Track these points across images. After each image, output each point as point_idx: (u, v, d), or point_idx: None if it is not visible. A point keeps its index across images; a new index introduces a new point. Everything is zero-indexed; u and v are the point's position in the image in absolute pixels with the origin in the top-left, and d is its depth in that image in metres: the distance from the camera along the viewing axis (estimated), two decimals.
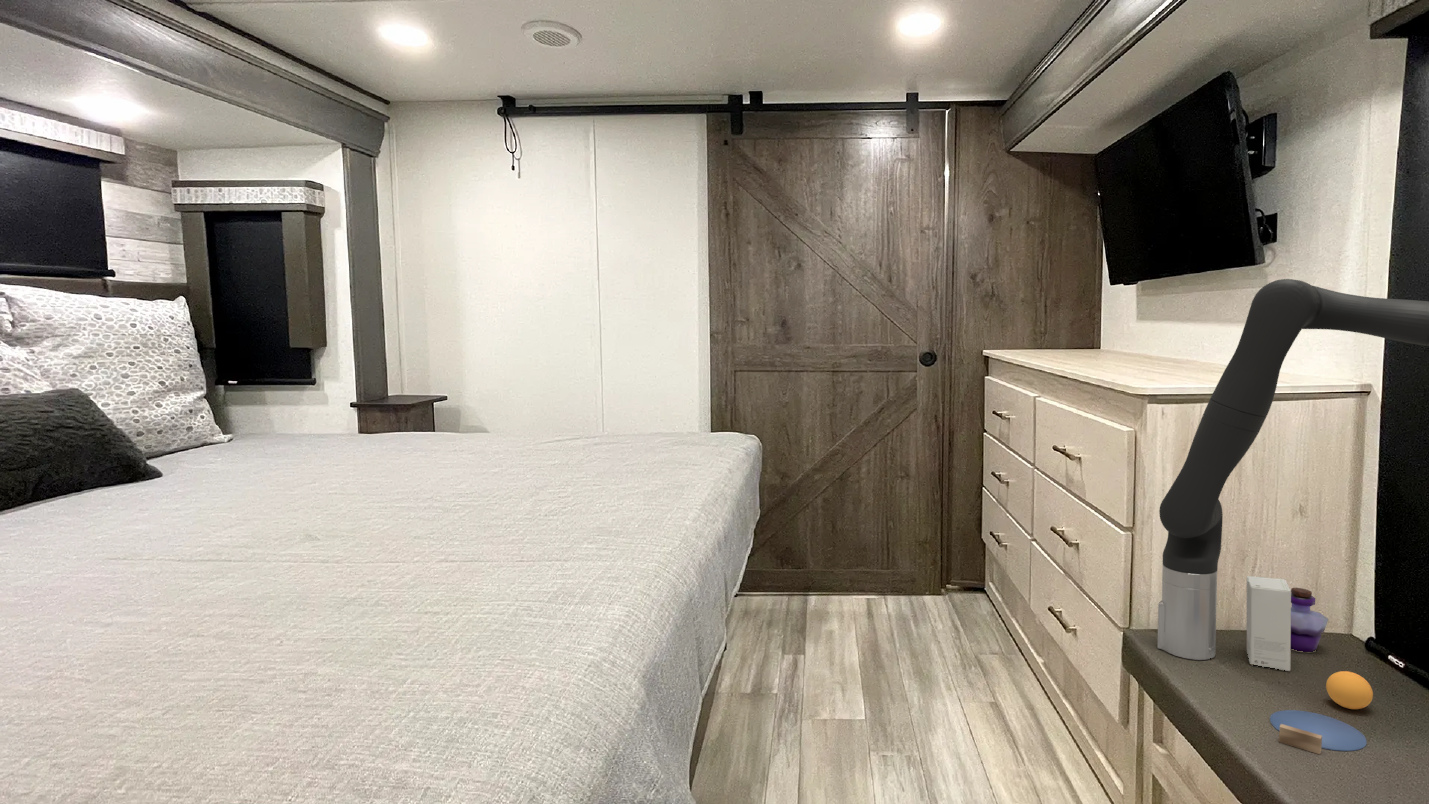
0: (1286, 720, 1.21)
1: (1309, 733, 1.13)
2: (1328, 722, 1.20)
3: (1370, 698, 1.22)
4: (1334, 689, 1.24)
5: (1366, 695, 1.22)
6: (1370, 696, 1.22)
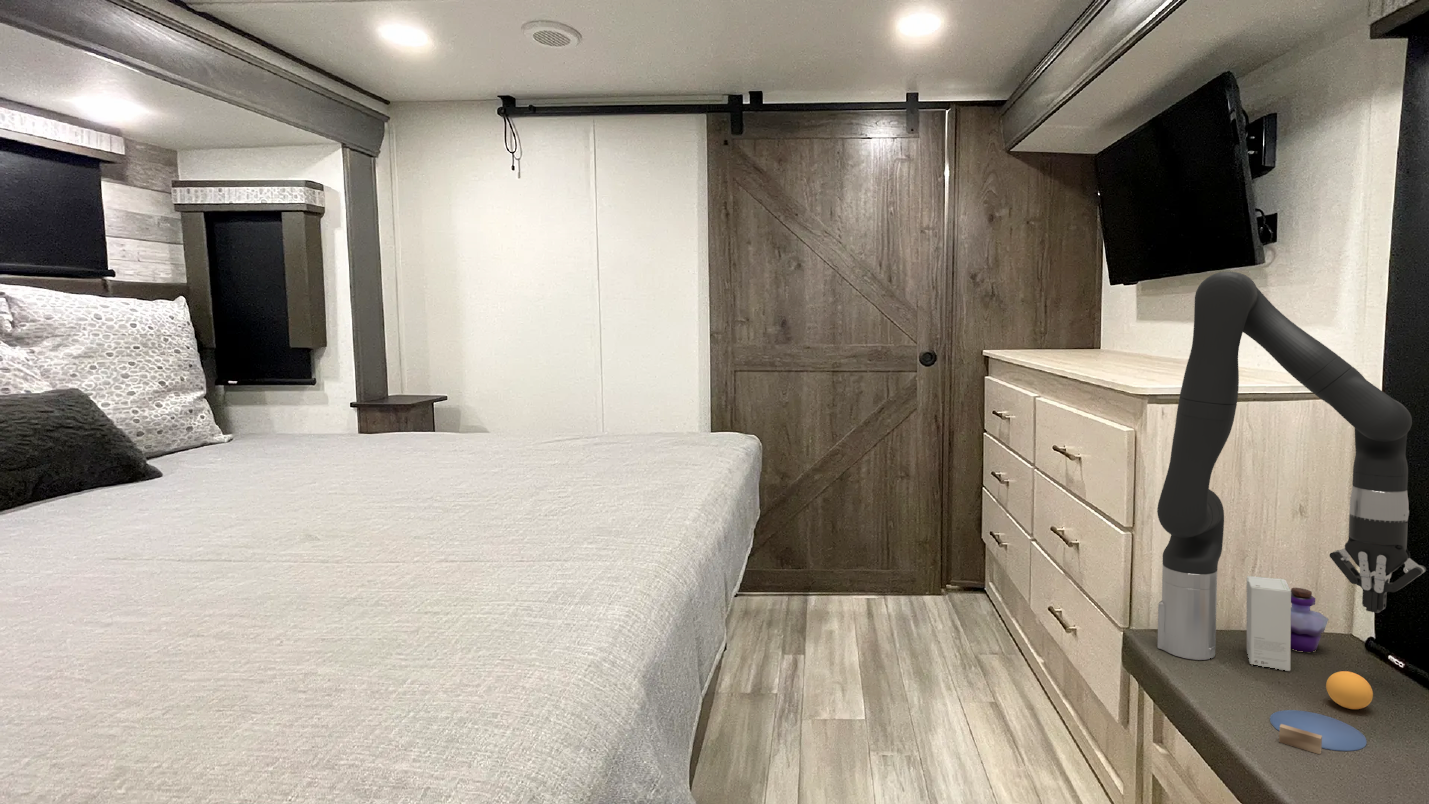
0: (1286, 720, 1.21)
1: (1309, 733, 1.13)
2: (1328, 722, 1.20)
3: (1370, 698, 1.22)
4: (1334, 689, 1.24)
5: (1366, 695, 1.22)
6: (1370, 696, 1.22)
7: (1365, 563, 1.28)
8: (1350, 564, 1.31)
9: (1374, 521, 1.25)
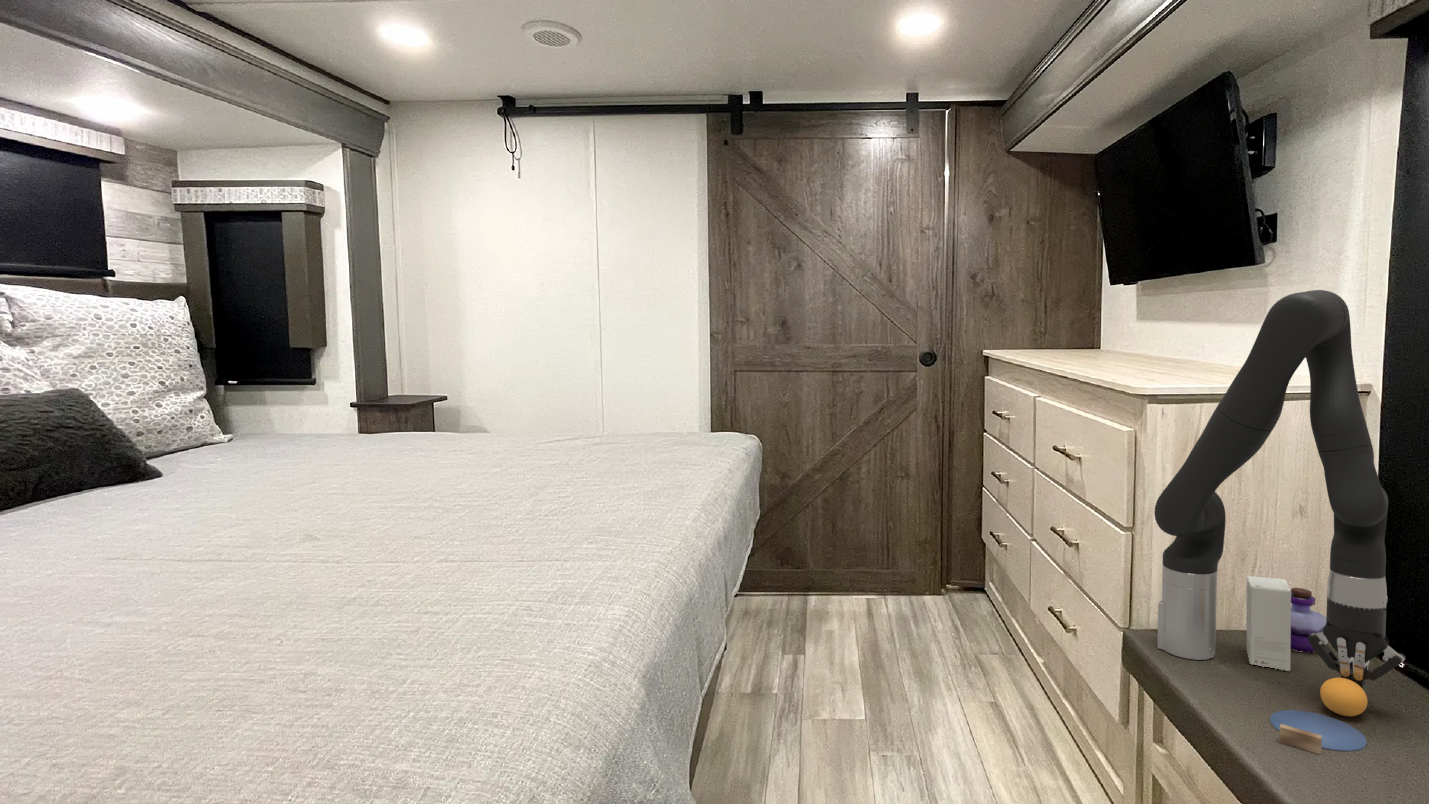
0: (1286, 720, 1.21)
1: (1309, 733, 1.13)
2: (1328, 722, 1.20)
3: (1365, 707, 1.20)
4: (1328, 706, 1.22)
5: (1360, 709, 1.20)
6: (1365, 706, 1.20)
7: (1344, 649, 1.24)
8: (1328, 648, 1.27)
9: (1353, 608, 1.21)
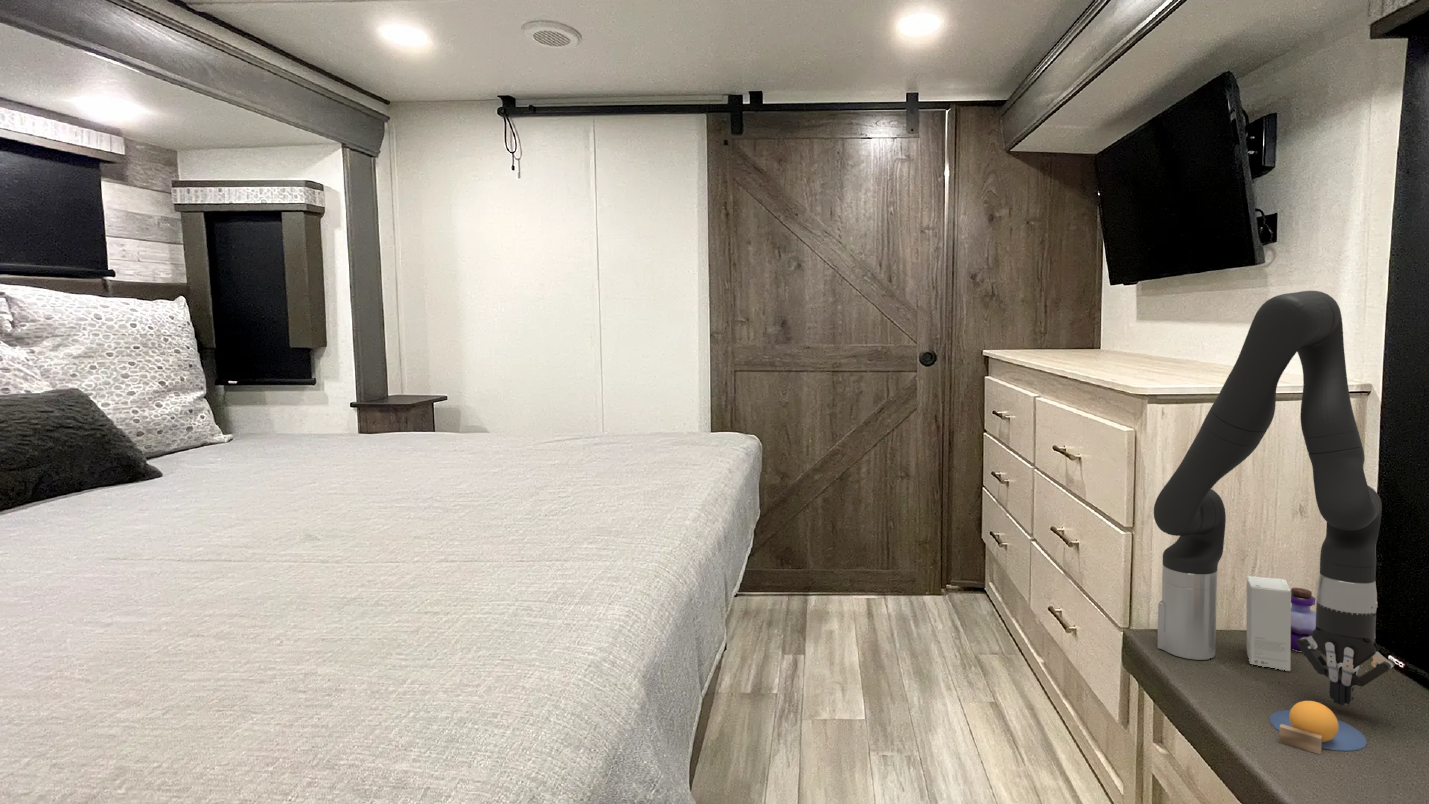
0: (1286, 720, 1.21)
1: (1309, 733, 1.13)
2: None
3: (1335, 726, 1.13)
4: (1302, 702, 1.16)
5: (1333, 718, 1.13)
6: (1336, 725, 1.13)
7: (1332, 654, 1.22)
8: (1317, 652, 1.26)
9: (1341, 613, 1.19)
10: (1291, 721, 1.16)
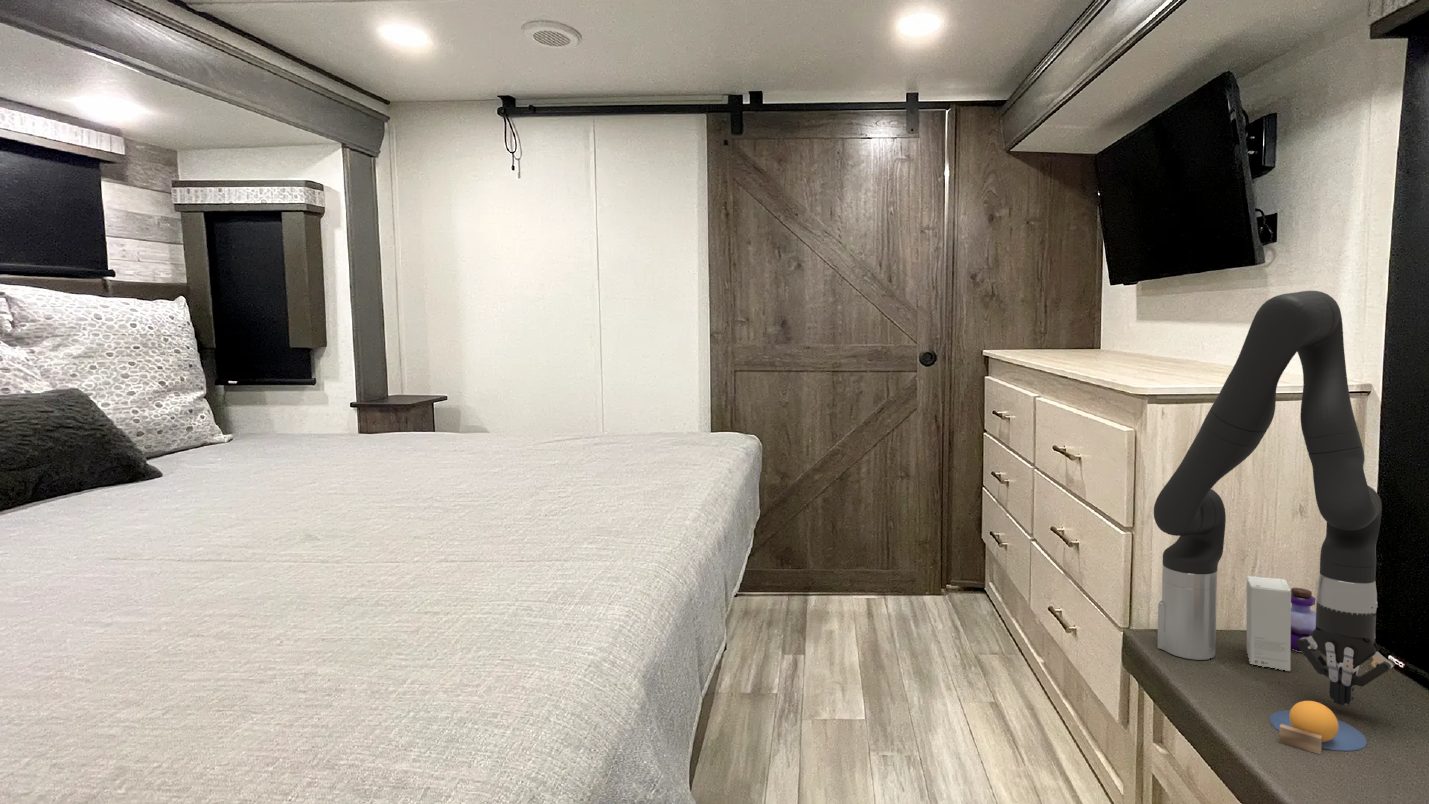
0: (1286, 720, 1.21)
1: (1309, 733, 1.13)
2: None
3: (1335, 726, 1.13)
4: (1302, 702, 1.16)
5: (1333, 718, 1.13)
6: (1336, 725, 1.13)
7: (1332, 654, 1.22)
8: (1317, 652, 1.26)
9: (1341, 613, 1.19)
10: (1291, 721, 1.16)
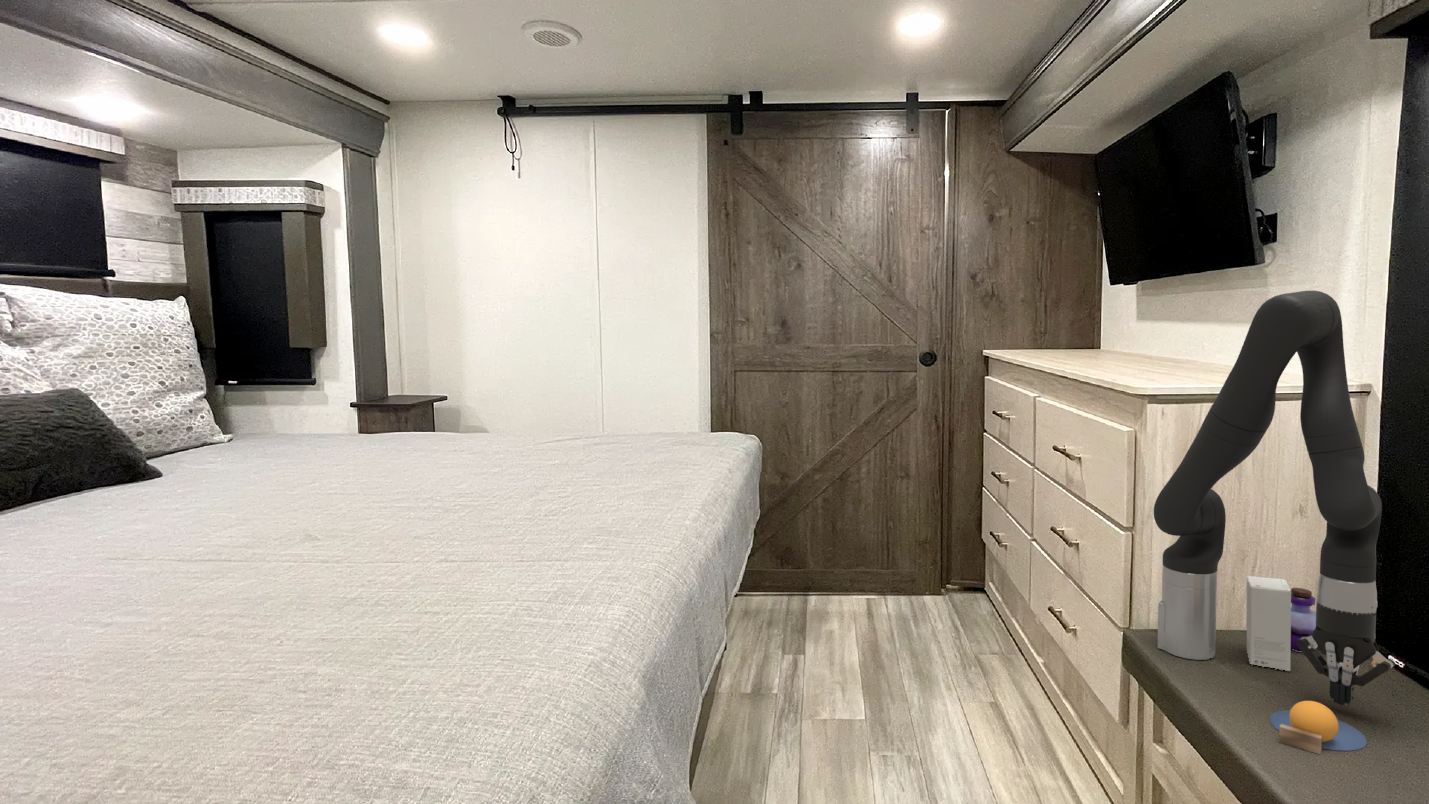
0: (1286, 720, 1.21)
1: (1309, 733, 1.13)
2: None
3: (1335, 726, 1.13)
4: (1302, 702, 1.16)
5: (1333, 718, 1.13)
6: (1336, 725, 1.13)
7: (1332, 654, 1.22)
8: (1317, 652, 1.26)
9: (1341, 612, 1.19)
10: (1291, 721, 1.16)
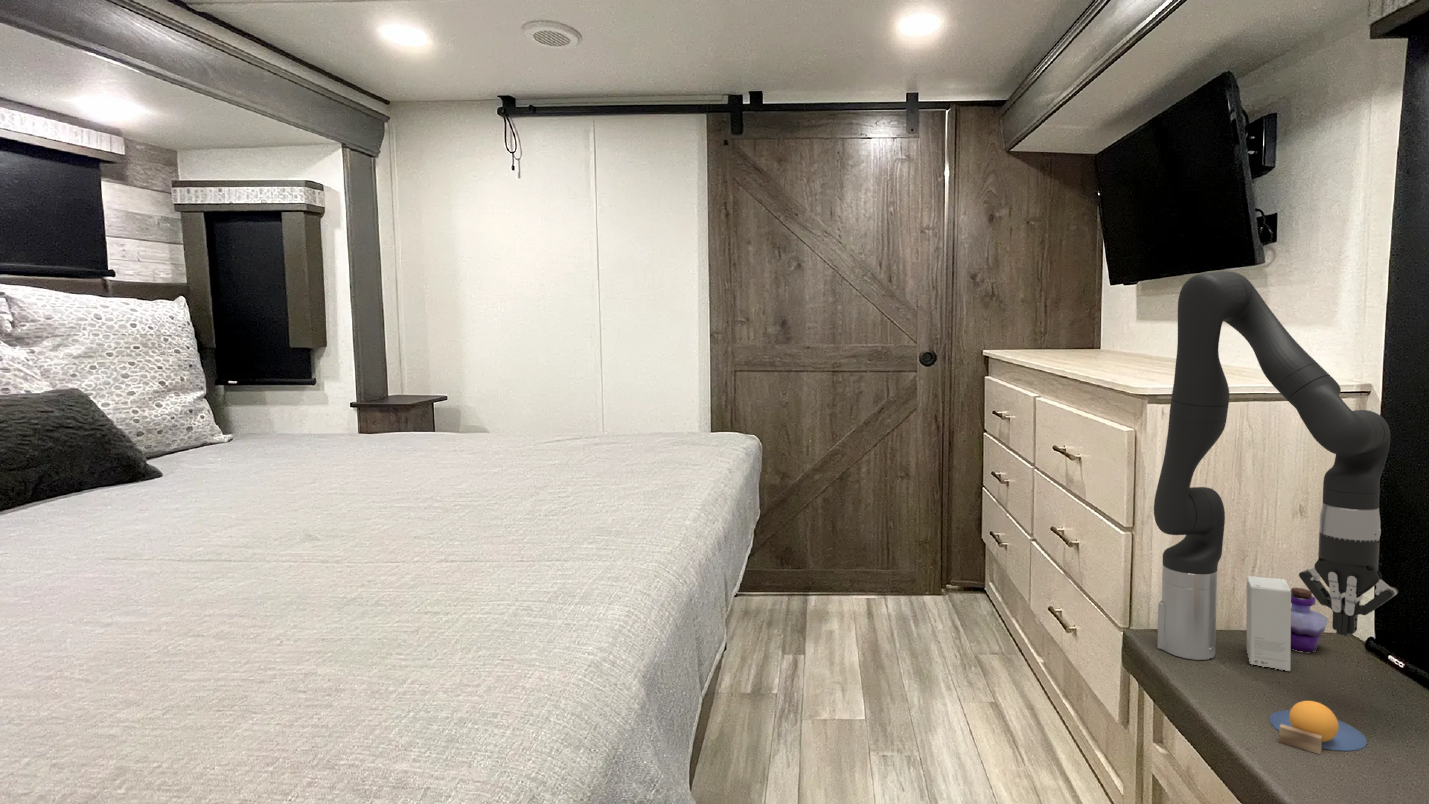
0: (1286, 720, 1.21)
1: (1309, 733, 1.13)
2: None
3: (1335, 726, 1.13)
4: (1302, 702, 1.16)
5: (1333, 718, 1.13)
6: (1336, 725, 1.13)
7: (1335, 584, 1.21)
8: (1320, 584, 1.25)
9: (1344, 540, 1.18)
10: (1291, 721, 1.16)
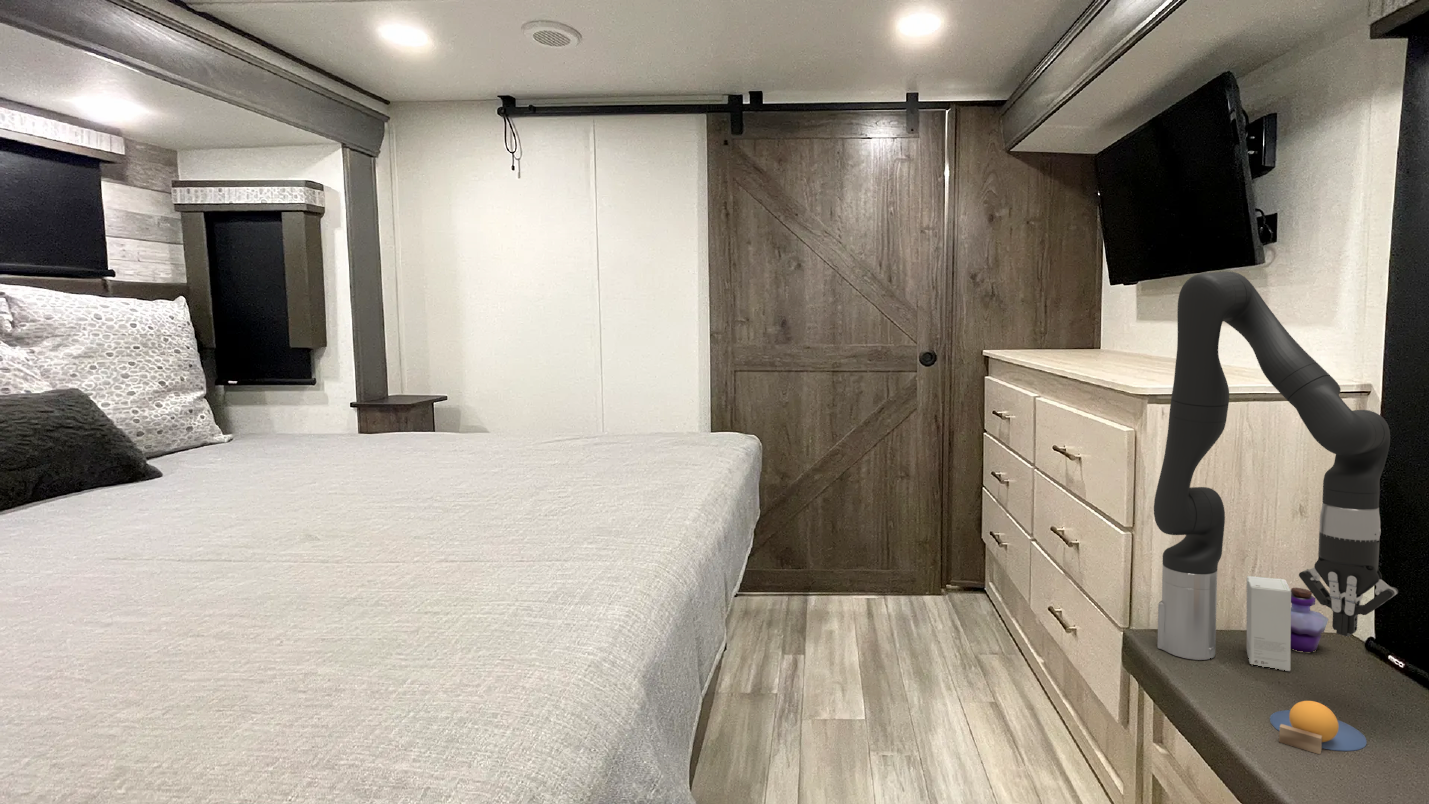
0: (1286, 720, 1.21)
1: (1309, 733, 1.13)
2: None
3: (1335, 726, 1.13)
4: (1302, 702, 1.16)
5: (1333, 718, 1.13)
6: (1336, 725, 1.13)
7: (1335, 584, 1.21)
8: (1320, 584, 1.25)
9: (1344, 540, 1.18)
10: (1291, 721, 1.16)
